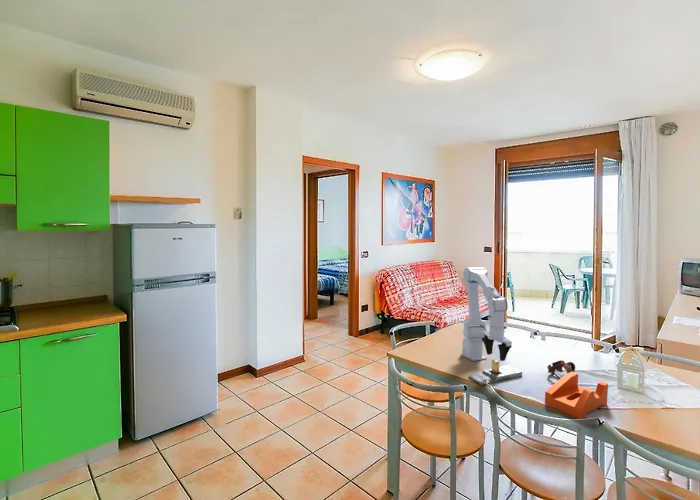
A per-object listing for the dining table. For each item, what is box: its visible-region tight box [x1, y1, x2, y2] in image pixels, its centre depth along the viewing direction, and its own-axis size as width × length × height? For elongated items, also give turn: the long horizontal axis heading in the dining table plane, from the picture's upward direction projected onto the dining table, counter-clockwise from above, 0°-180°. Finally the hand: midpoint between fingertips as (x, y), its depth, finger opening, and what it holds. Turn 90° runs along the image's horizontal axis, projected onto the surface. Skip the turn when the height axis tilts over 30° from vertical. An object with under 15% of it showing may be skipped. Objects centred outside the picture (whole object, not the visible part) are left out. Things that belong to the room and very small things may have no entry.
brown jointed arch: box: [546, 359, 576, 375], centre depth 160 cm, size 12×10×8 cm
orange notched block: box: [544, 371, 609, 420], centre depth 137 cm, size 18×13×8 cm
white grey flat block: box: [468, 364, 523, 386], centre depth 161 cm, size 22×8×2 cm, turn 113°
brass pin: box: [491, 359, 500, 375], centre depth 160 cm, size 3×3×7 cm
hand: (495, 357), depth 160 cm, fingers open, 7 cm apart
